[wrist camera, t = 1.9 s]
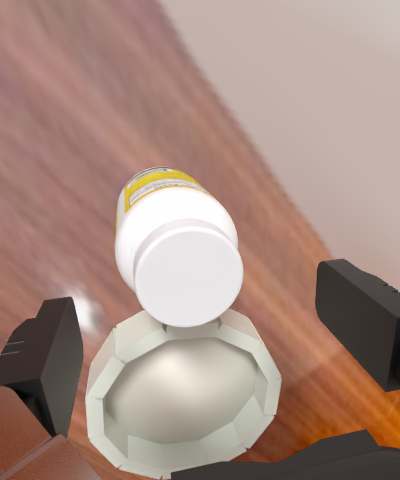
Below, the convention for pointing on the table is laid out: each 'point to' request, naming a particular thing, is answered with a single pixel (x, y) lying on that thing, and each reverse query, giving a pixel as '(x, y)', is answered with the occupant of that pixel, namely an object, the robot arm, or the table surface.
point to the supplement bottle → (176, 248)
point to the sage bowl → (180, 393)
